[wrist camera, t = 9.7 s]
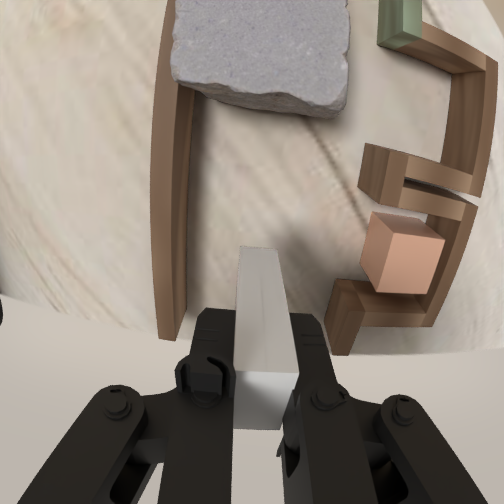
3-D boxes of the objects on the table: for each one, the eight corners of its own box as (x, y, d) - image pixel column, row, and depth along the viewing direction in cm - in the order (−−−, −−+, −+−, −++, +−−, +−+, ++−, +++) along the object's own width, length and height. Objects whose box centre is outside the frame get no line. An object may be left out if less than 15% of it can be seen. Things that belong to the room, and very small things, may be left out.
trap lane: (172, 305, 23) (158, 338, 19) (212, -97, 9) (204, -124, 5) (400, 323, 23) (417, 354, 20) (457, -38, 9) (482, -51, 5)
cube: (359, 262, 21) (376, 292, 17) (371, 211, 19) (393, 232, 16) (404, 266, 21) (426, 294, 17) (418, 218, 19) (445, 240, 16)
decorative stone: (229, 149, 18) (376, 106, 16) (206, 167, 12) (427, 104, 10) (157, -26, 12) (293, -68, 10) (114, -67, 6) (299, -122, 4)
